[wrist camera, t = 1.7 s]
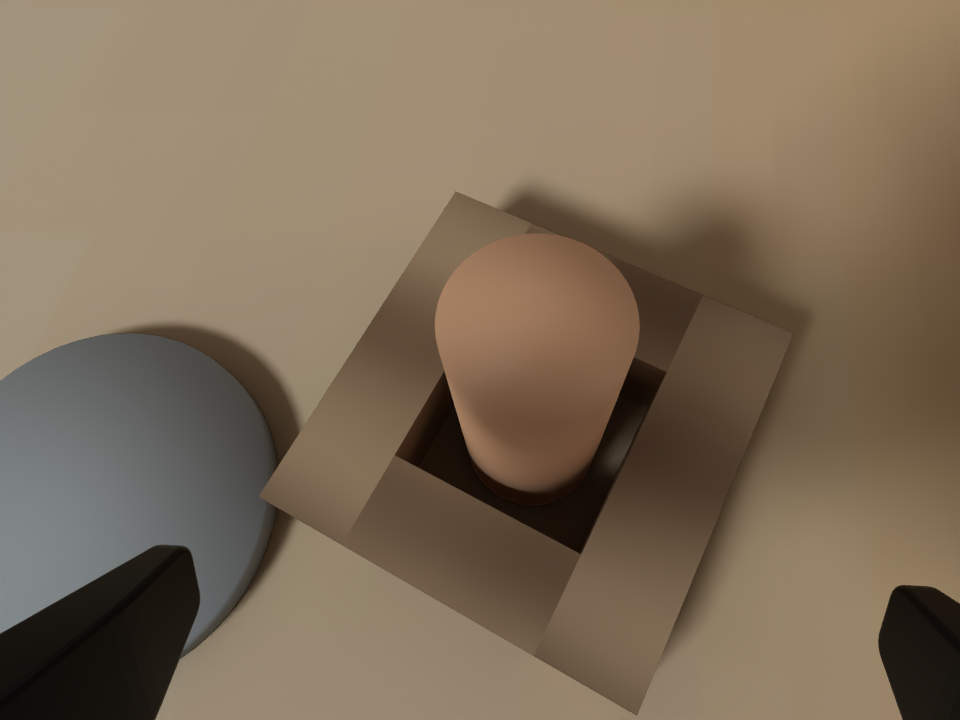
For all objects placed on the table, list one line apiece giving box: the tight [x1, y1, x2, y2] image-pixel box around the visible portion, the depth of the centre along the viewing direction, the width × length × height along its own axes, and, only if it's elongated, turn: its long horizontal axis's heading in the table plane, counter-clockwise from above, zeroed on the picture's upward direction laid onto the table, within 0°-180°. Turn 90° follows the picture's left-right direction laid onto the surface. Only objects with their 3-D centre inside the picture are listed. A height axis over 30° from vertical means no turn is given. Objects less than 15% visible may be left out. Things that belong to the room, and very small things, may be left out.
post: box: [435, 233, 640, 505], centre depth 18 cm, size 4×4×9 cm
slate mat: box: [0, 333, 278, 659], centre depth 21 cm, size 11×11×1 cm
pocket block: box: [259, 192, 794, 715], centre depth 20 cm, size 11×11×3 cm
